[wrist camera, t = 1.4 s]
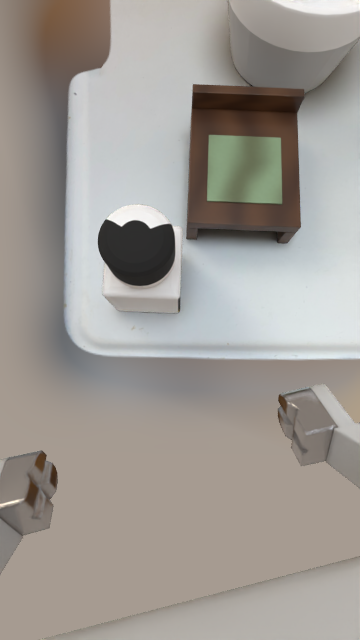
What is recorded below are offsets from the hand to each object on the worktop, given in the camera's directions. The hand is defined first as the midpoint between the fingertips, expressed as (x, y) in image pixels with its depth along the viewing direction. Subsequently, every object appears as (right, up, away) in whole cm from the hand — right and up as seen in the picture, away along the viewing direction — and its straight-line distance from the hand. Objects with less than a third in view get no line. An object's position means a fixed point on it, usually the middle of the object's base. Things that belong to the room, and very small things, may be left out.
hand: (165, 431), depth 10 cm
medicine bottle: (-3, +8, +24) cm, 26 cm away
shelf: (+8, +20, +26) cm, 34 cm away
